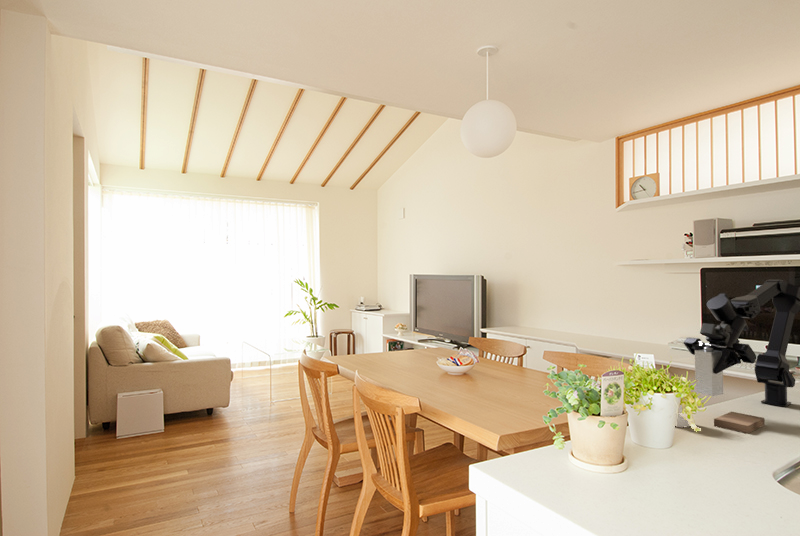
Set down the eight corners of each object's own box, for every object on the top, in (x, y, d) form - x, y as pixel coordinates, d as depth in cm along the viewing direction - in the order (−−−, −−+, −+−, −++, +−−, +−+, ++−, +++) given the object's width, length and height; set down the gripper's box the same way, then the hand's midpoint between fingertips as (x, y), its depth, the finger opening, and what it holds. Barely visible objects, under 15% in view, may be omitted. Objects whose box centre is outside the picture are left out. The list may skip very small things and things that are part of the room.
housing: (706, 390, 147) (705, 345, 147) (723, 394, 142) (722, 348, 142) (695, 392, 145) (694, 347, 145) (712, 395, 140) (711, 349, 140)
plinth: (731, 418, 140) (731, 411, 140) (764, 425, 134) (764, 417, 134) (714, 426, 133) (713, 418, 133) (748, 433, 127) (747, 425, 127)
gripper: (686, 311, 154) (663, 349, 149) (749, 316, 137) (725, 358, 132) (703, 335, 157) (681, 372, 152) (766, 342, 140) (743, 384, 135)
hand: (705, 371), depth 143 cm, fingers closed on housing, 5 cm apart
